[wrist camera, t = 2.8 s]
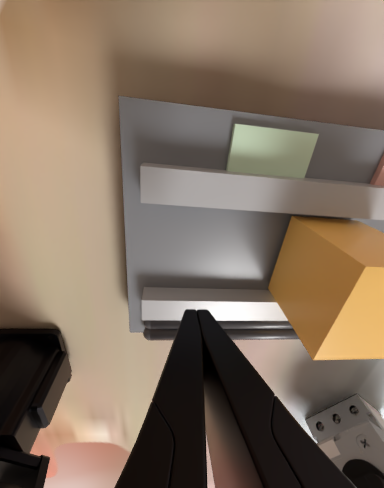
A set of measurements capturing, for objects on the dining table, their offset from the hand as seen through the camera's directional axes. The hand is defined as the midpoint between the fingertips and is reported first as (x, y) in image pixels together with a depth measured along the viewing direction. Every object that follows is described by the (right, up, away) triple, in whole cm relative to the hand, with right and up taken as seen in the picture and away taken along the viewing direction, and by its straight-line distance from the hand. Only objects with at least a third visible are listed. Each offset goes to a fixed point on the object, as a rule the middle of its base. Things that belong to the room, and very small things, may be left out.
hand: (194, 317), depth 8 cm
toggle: (+7, +2, +5) cm, 9 cm away
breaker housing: (+7, +3, +7) cm, 10 cm away
